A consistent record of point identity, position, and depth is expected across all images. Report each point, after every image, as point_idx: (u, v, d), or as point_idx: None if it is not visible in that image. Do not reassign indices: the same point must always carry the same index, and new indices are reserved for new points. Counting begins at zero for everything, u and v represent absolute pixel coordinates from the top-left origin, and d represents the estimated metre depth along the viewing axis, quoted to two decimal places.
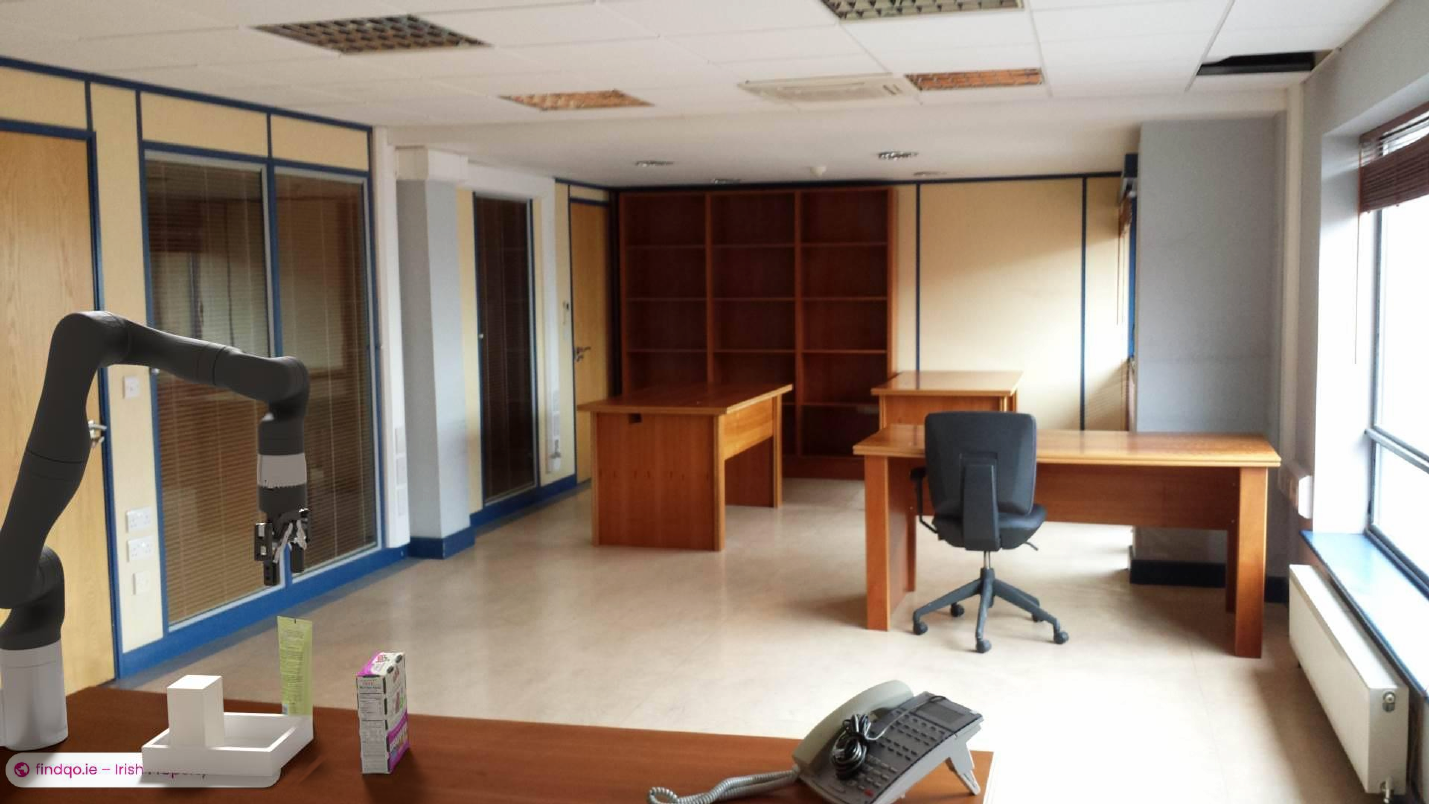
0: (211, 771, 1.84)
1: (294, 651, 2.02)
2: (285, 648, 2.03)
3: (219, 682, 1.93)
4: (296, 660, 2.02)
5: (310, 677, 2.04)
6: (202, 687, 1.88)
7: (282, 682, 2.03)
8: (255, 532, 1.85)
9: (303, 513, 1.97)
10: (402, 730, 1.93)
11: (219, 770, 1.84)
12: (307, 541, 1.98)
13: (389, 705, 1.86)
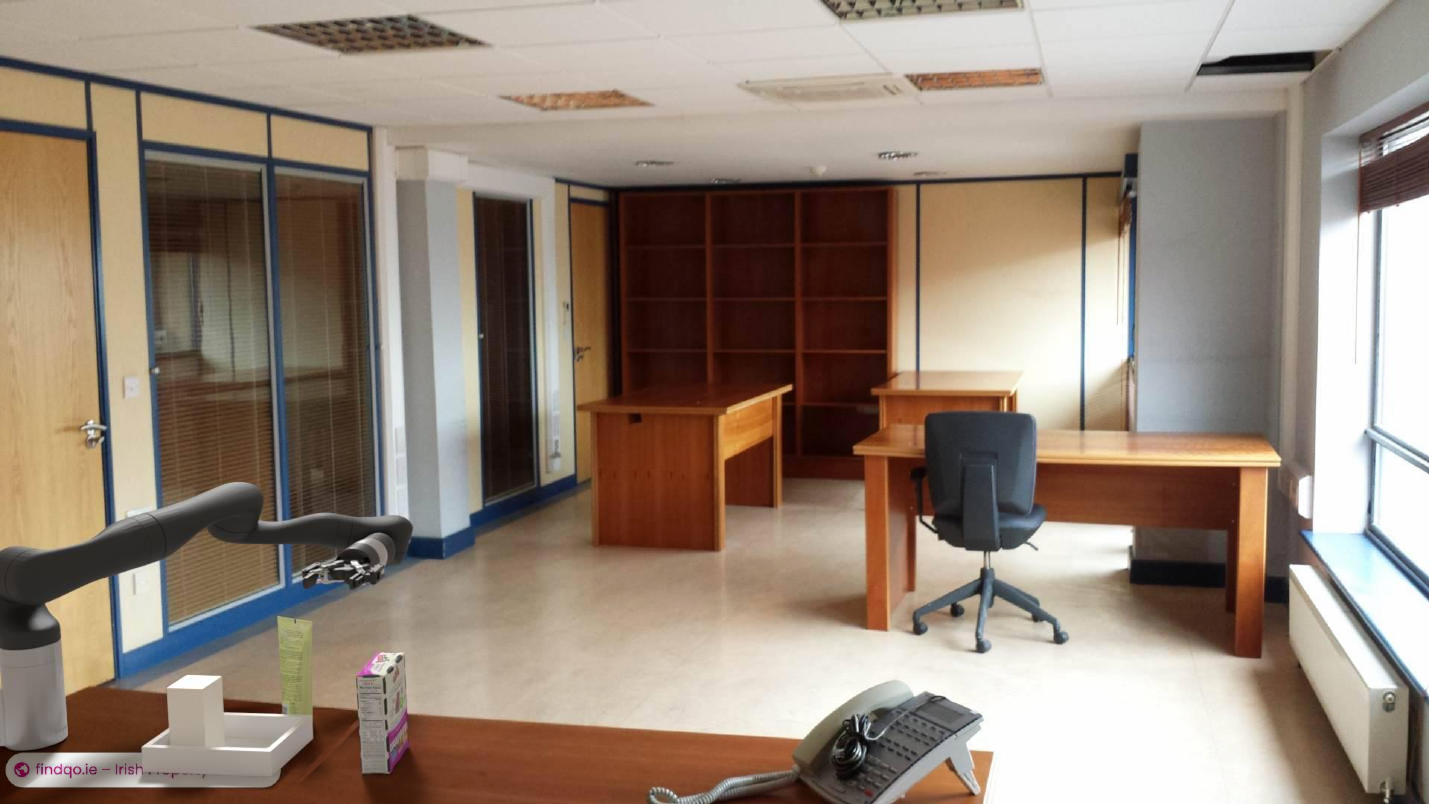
0: (211, 771, 1.84)
1: (294, 651, 2.02)
2: (285, 648, 2.03)
3: (219, 682, 1.93)
4: (296, 660, 2.02)
5: (310, 677, 2.04)
6: (202, 687, 1.88)
7: (282, 682, 2.03)
8: None
9: None
10: (402, 730, 1.93)
11: (219, 770, 1.84)
12: (369, 572, 2.20)
13: (389, 705, 1.86)
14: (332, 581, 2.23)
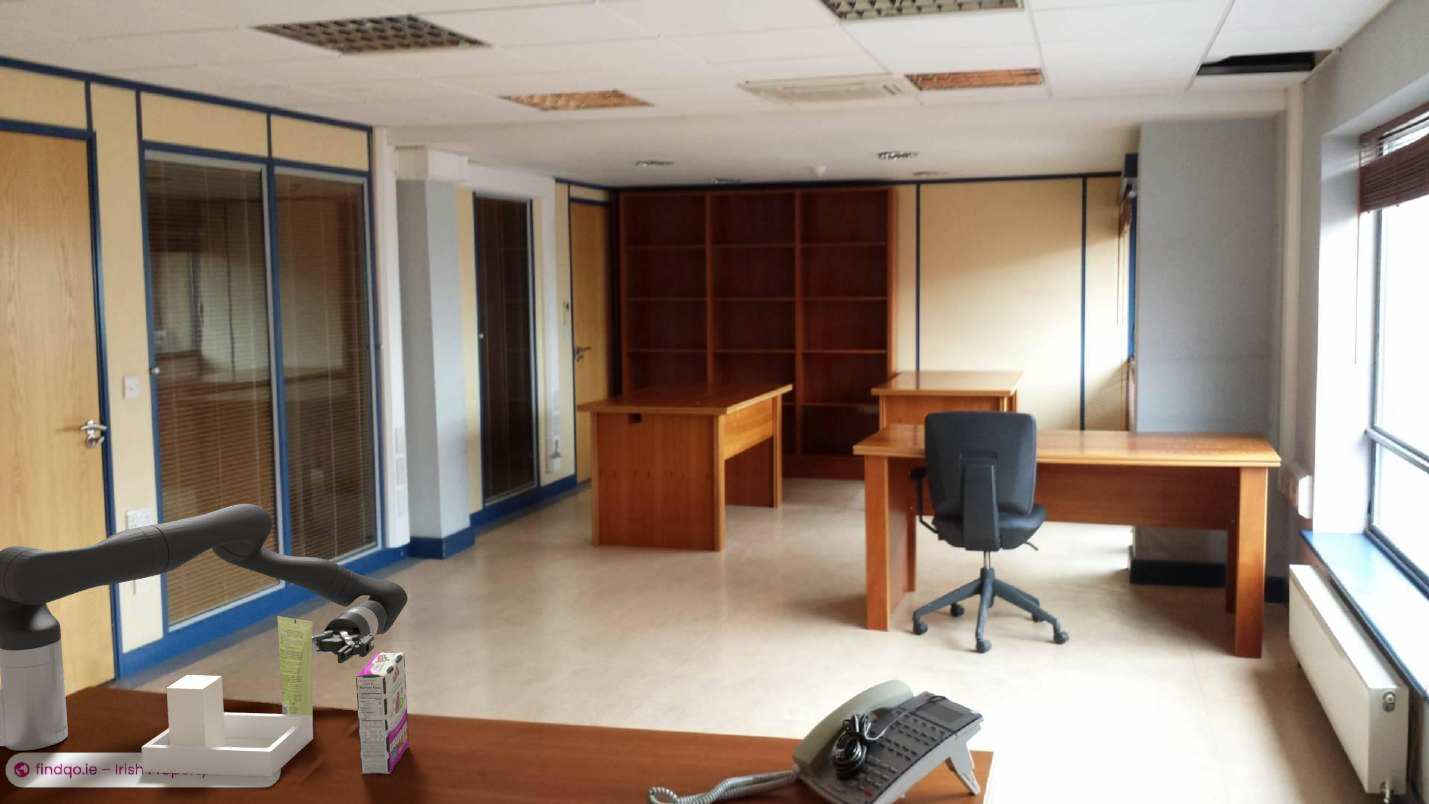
0: (211, 771, 1.84)
1: (294, 651, 2.02)
2: (285, 648, 2.03)
3: (219, 682, 1.93)
4: (296, 660, 2.02)
5: (310, 677, 2.04)
6: (202, 687, 1.88)
7: (282, 682, 2.03)
8: None
9: None
10: (402, 730, 1.93)
11: (219, 770, 1.84)
12: (359, 644, 2.14)
13: (389, 705, 1.86)
14: (320, 652, 2.17)
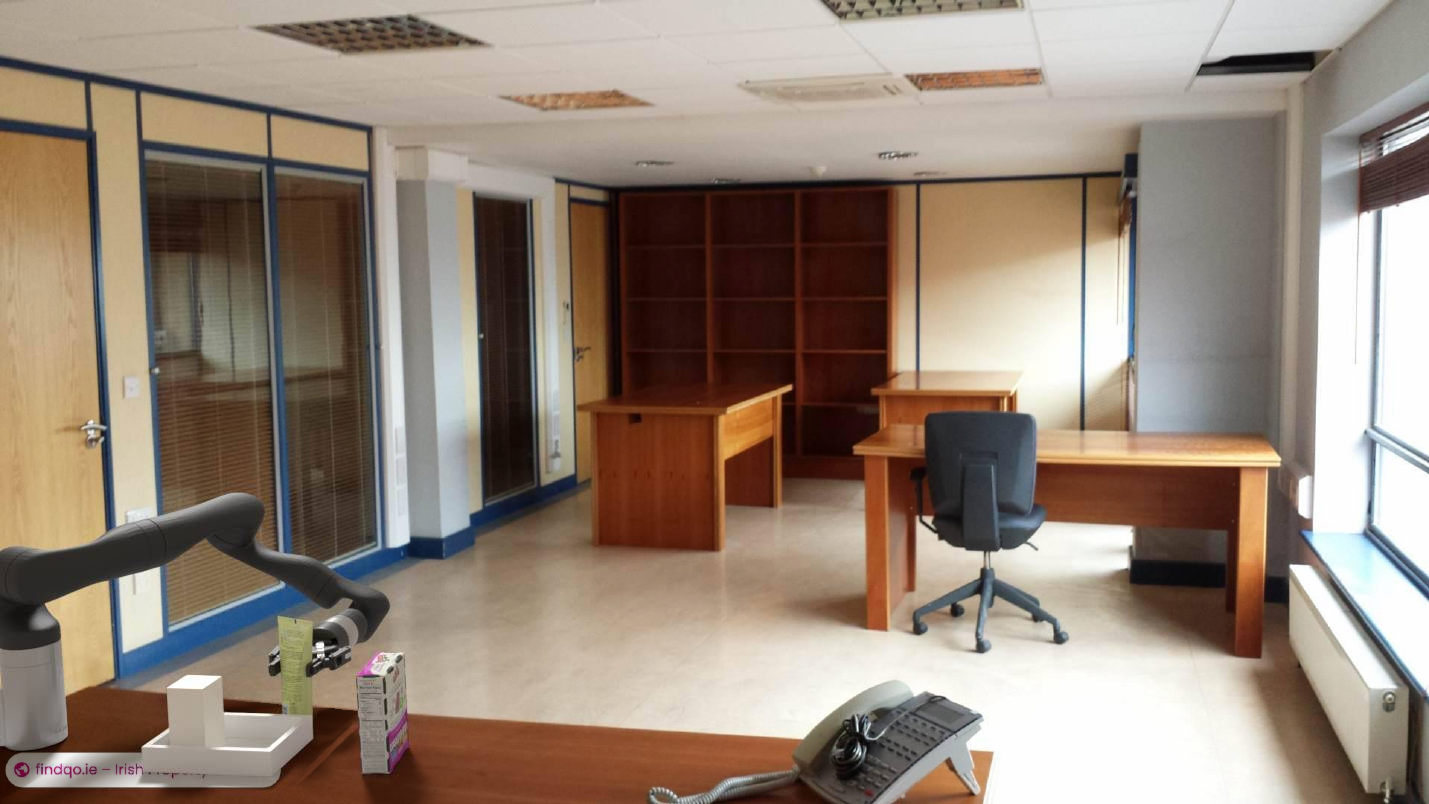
0: (211, 771, 1.84)
1: (294, 651, 2.02)
2: (286, 648, 2.03)
3: (219, 682, 1.93)
4: (296, 660, 2.02)
5: (310, 677, 2.04)
6: (202, 687, 1.88)
7: (282, 682, 2.03)
8: None
9: None
10: (402, 730, 1.93)
11: (219, 770, 1.84)
12: (329, 656, 2.06)
13: (389, 705, 1.86)
14: None
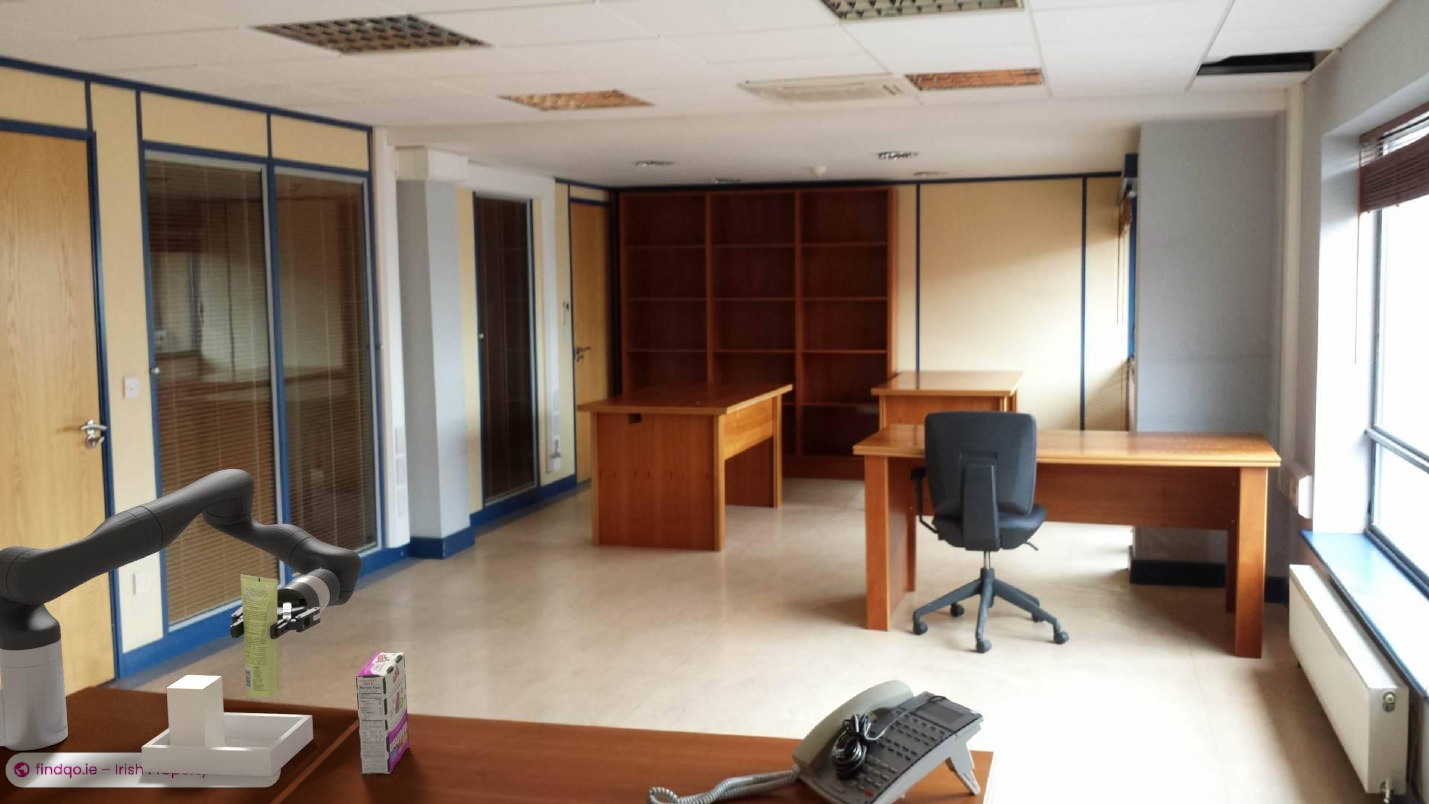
0: (211, 771, 1.84)
1: (258, 611, 1.89)
2: (249, 608, 1.90)
3: (219, 682, 1.93)
4: (260, 621, 1.89)
5: (275, 639, 1.90)
6: (202, 687, 1.88)
7: (245, 644, 1.90)
8: None
9: None
10: (402, 730, 1.93)
11: (219, 770, 1.84)
12: (295, 617, 1.93)
13: (389, 705, 1.86)
14: None
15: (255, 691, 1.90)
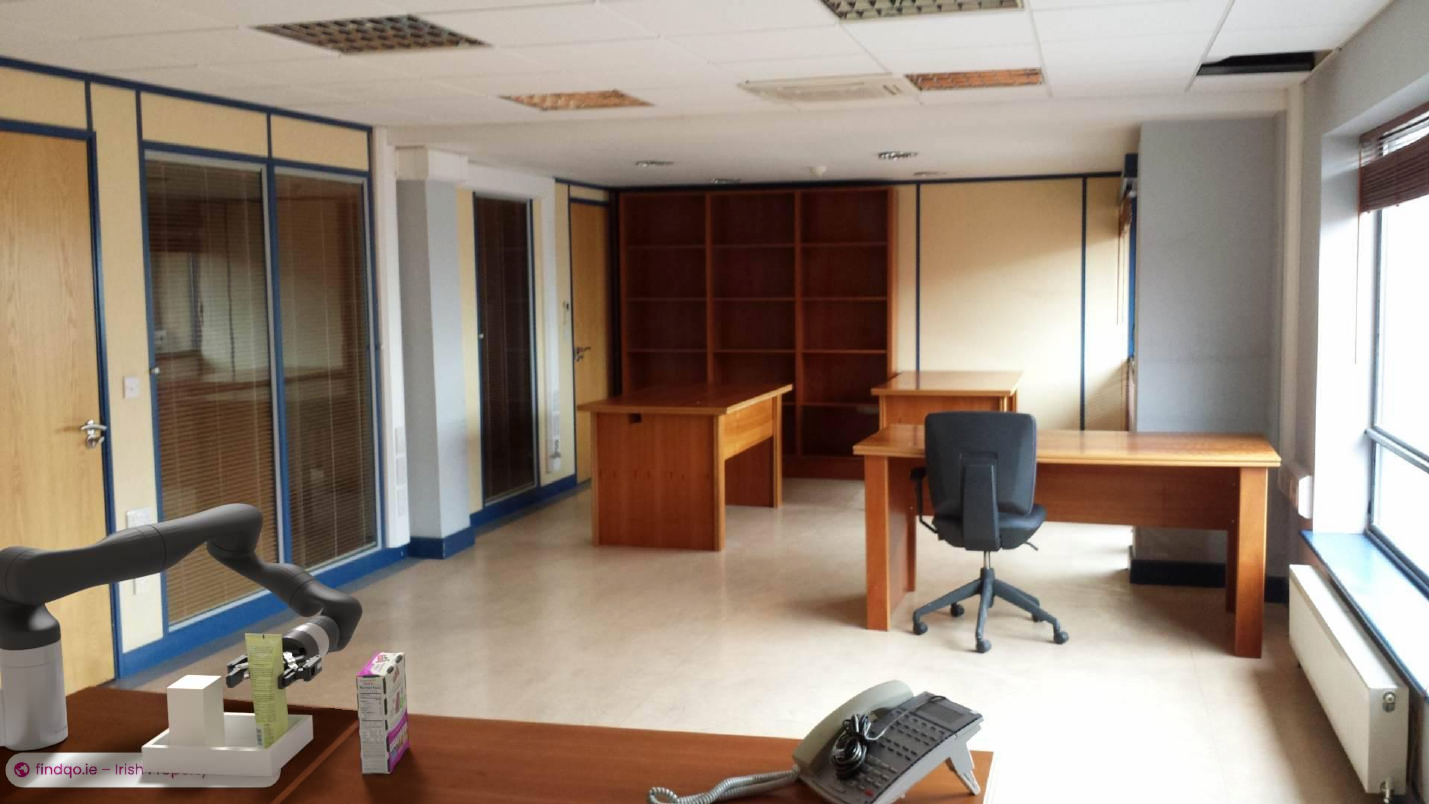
0: (211, 771, 1.84)
1: (264, 668, 1.90)
2: (255, 665, 1.90)
3: (219, 682, 1.93)
4: (267, 677, 1.89)
5: (284, 695, 1.91)
6: (202, 687, 1.88)
7: (254, 703, 1.91)
8: None
9: None
10: (402, 730, 1.93)
11: (219, 770, 1.84)
12: (303, 667, 1.93)
13: (389, 705, 1.86)
14: None
15: None
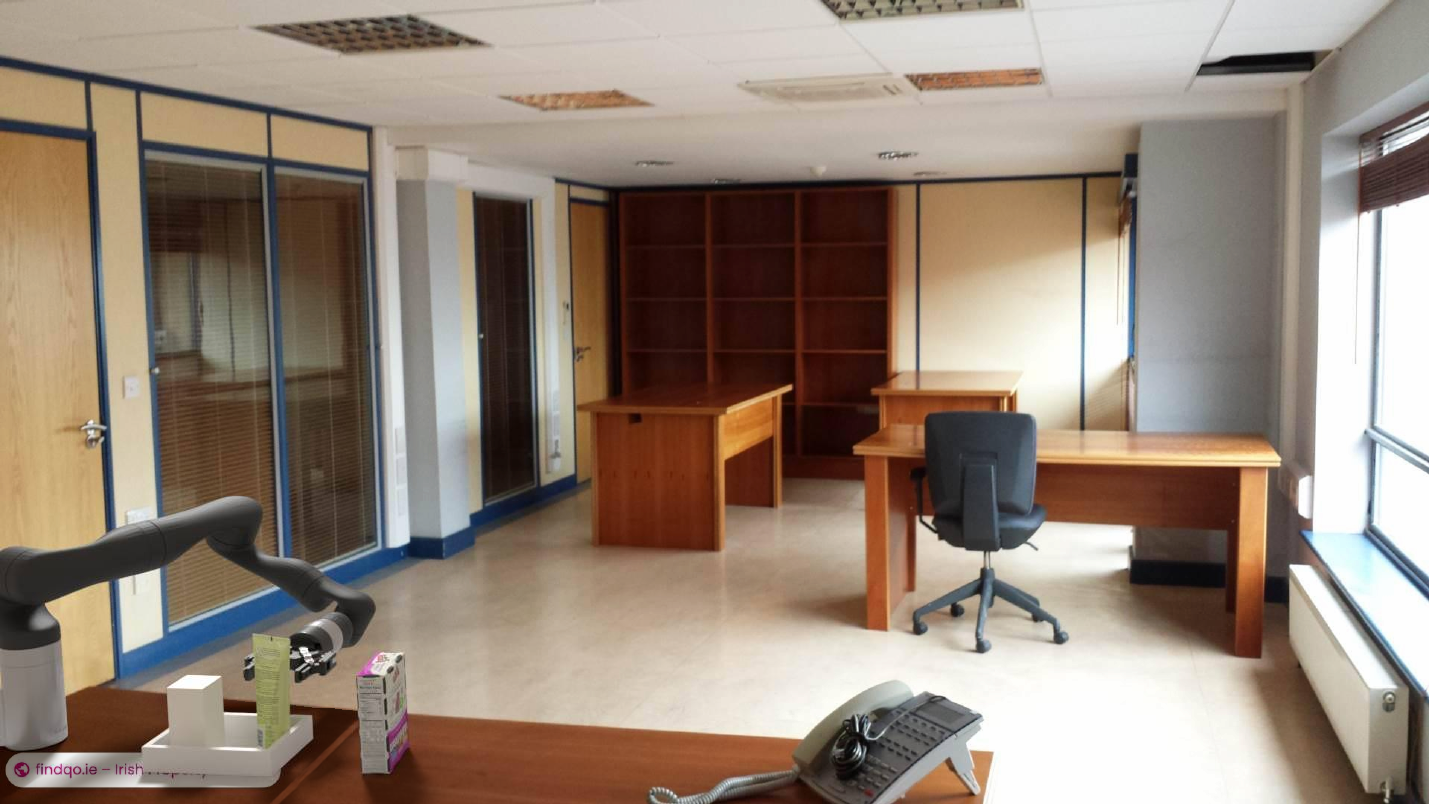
0: (211, 771, 1.84)
1: (270, 671, 1.89)
2: (261, 667, 1.90)
3: (219, 682, 1.93)
4: (273, 680, 1.89)
5: (288, 698, 1.91)
6: (202, 687, 1.88)
7: (257, 704, 1.90)
8: None
9: None
10: (402, 730, 1.93)
11: (219, 770, 1.84)
12: (319, 661, 1.98)
13: (389, 705, 1.86)
14: None
15: None
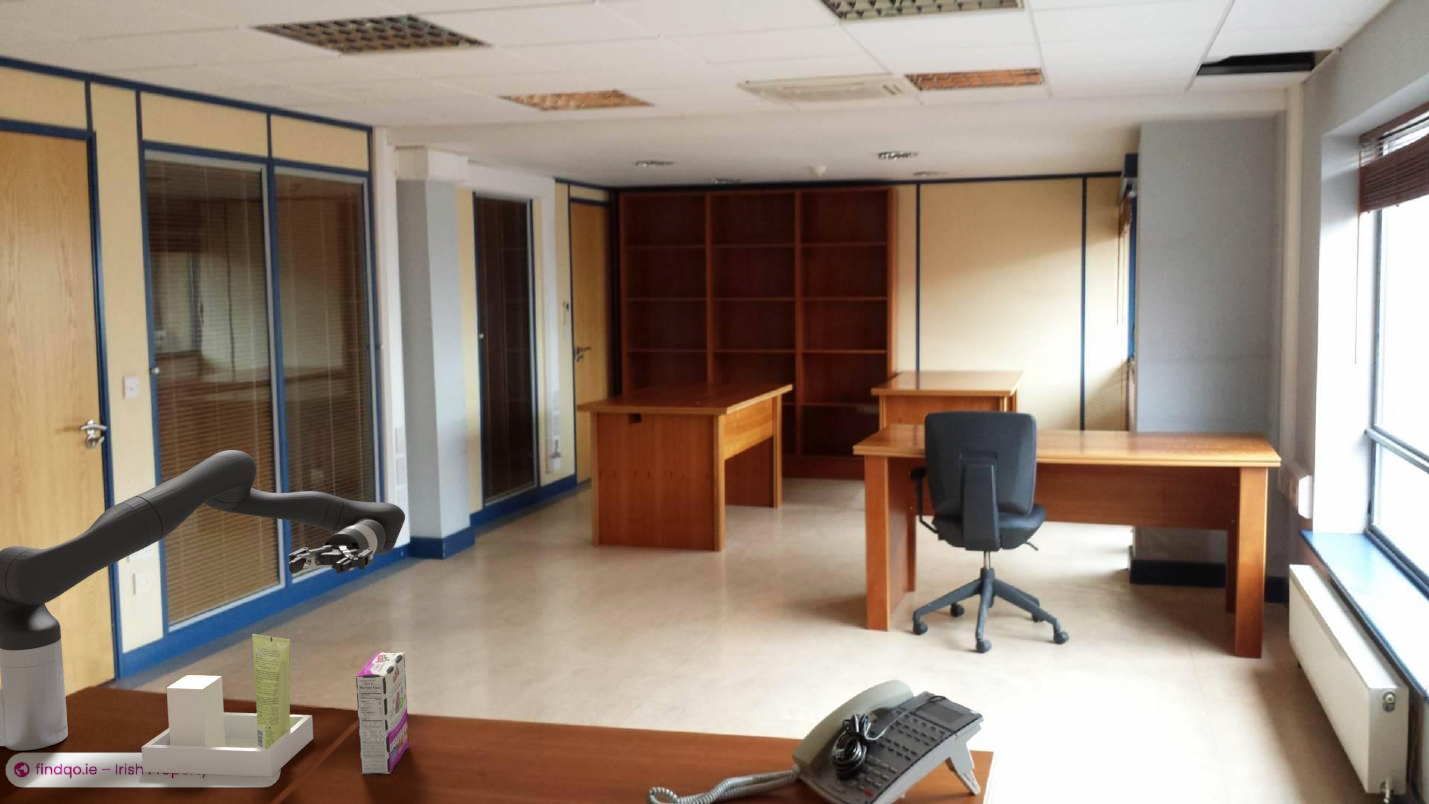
0: (211, 771, 1.84)
1: (270, 671, 1.89)
2: (261, 668, 1.90)
3: (219, 682, 1.93)
4: (273, 681, 1.89)
5: (287, 699, 1.91)
6: (202, 687, 1.88)
7: (257, 704, 1.90)
8: None
9: None
10: (402, 730, 1.93)
11: (219, 770, 1.84)
12: (357, 556, 2.16)
13: (389, 705, 1.86)
14: (320, 566, 2.18)
15: None
